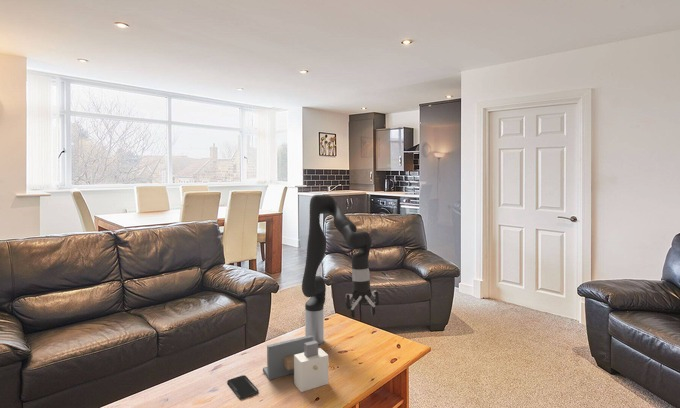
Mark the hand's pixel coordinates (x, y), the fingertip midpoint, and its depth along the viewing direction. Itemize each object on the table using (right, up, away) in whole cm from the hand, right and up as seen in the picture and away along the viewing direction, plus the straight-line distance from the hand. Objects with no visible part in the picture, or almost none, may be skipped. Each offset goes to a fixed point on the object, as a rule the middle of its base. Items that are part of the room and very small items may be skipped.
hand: (362, 316), depth 158 cm
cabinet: (-21, -25, -7) cm, 34 cm away
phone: (-49, -26, -10) cm, 56 cm away
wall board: (-31, -24, +1) cm, 39 cm away
